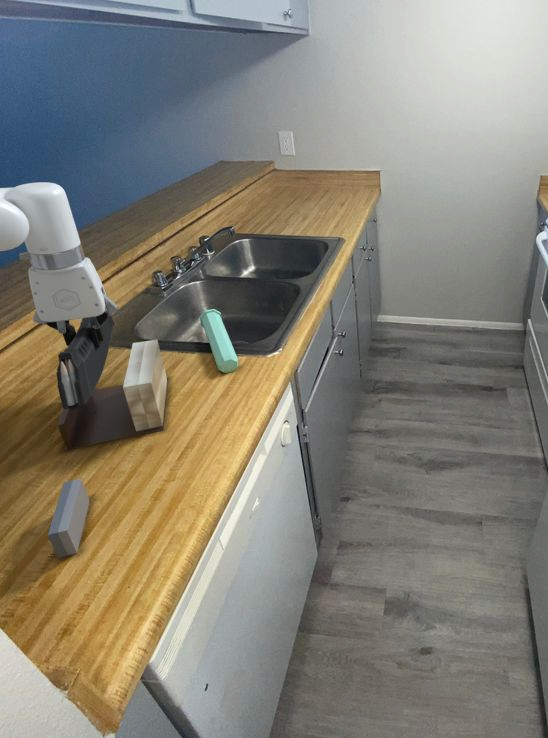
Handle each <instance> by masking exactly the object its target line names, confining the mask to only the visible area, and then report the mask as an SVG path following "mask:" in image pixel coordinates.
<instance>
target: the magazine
mask: <svg viewBox="0 0 548 738" xmlns="http://www.w3.org/2000/svg"><path fill="white" fill-rule="evenodd" d="M105 309H107V308H106V307H105ZM101 326H102V329H103V332H104V335H105V340H104V341H102V344H101V347H100V348H97V347H95V344H94V341H93V338H92V335H91V332H90V330H91V328H92V327H91V323H90V321H89V319H88V318H82V319H81V322H80V324H79V327H78V329H77V331H76V335H75V337H74V339H73V341H72V342H71V344H70V345H69V346H67V348H65V349H64V350H63V351H61V352H59V354H58V355H57V357H58V366H57V368H56V379H57V380H56V381H57V389H58V394H59V398H60V402H61V406H62V408H63V409H70V410H77V409H80V408H81V407H85V406H87V404H86V403H87V402H88V400H89V399H90V397H91V395H92V394H93V392H94V390H96V388H97V386H98V384H99V381H100V380H101V377H102V375H103V371H104V368H105V365H106V362H107V359H108V355H109V350H110V345H111V340H112V336H113V331H114V326H115V322H114V319H113V315H111V316H109V317H108V318H107V319H106V320H105V321H104V322H103V324H102V325H101Z"/></svg>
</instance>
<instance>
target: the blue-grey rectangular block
mask: <svg viewBox="0 0 548 738" xmlns="http://www.w3.org/2000/svg"><path fill="white" fill-rule="evenodd" d="M90 502H91V500H90V498H89V495H88V493H87V490H86V487H85V484H84V483H83V480H82V478H77V479H73V480H69V481H64V482H63V484H62V488H61V491H60V493H59V496H58V500H57V503H56V505H55V506H56V507H55V510H54V513H53V516H52V520H51V523H50V526H49V528H48V532H47V538H48V539H49V541H50V543H51V545H52V548H53V549H54V552H55V554H56V556H57V558H58V559H60V558H61V559H62V558H64V557H68V556H72V555H76V554H78V552H79V549H80V543H81V539H82V535H83V531H84V527H85V522H86V518H87V516H88V515H87V514H88V511H89V507H90Z"/></svg>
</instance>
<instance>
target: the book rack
mask: <svg viewBox="0 0 548 738" xmlns="http://www.w3.org/2000/svg"><path fill="white" fill-rule="evenodd" d="M130 349H131V350H130V354H129V357H128V358H129V359H128V362H127V367H126V372H125V376H124V381H123V385H115V386H111V387H105V388H104V387H103V388H100V389H95V390H94V392H93V394H92V395H91V397H90V399H89V400H88V402H87V403H86V404H87V406H85V407H81V408H80V409H77V410H70V409H64V408H63V409H62V411H61V414H60V417H59V419H58V422H57V428H58V430H59V433H60V435H61V438H62V440H63V443H64V445H65V446H64V449H63V451H65V452H66V451H72V450H75V449H80V448H86V447H90V446H96V445H101V444H105V443H109V442H115V441H119V440H125V439H128V438H134V437H139V436H143V435H148V434H153V433H158V432H162V431H165V423H166V414H167V413H166V412H167V402H168V401H167V400H168V390H169V379H170V378H169V377H168V376H167V373H166V369H165V365H164V360H163V357H162V353H161V348H160V345H159V341H158V339H151V340H146V341H138V342H132V345H131V348H130Z"/></svg>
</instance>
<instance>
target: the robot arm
mask: <svg viewBox="0 0 548 738" xmlns="http://www.w3.org/2000/svg"><path fill="white" fill-rule="evenodd" d="M22 244H25V245H24V246H25V247H26V250H27V251H25V252H20V253H19V259H20V261H21V262H29V263H30V265H31V266H30V267H29V268H28V271H27V272H28V281H29V287H30V291H31V296H32V300H33V303H34V307H35V312H34V314H33V317H32V321H33V322H34V323H36V324H41V325H47V327H50V328H52V329H54V330H56V331H58V333H59V334H61V335H62V337H63V339H64V342H65V345H66V346H67V347H68V346H69V345H70V344H71V342H72V341H73V339H74V337H75V335H76V333H77V331H76V327H75V326H73V325H72V324H70V321H73V320H74V321H75V320H80V319H81V320H82V319H83V318H88V319H89V321H90V323H91V327H92V328H91V330H90V332H91V335H92V338H93V341H94V344H95V347H97V348H100V347H101V344H102V341H104V340H105V335H104V332H103V329H102V326H101V325H102V324H103V322H104V321H105V320H106V319H107V318H108V317H109V316H113V315H114V314H116V313H117V312H118V310H119V307H120V306H119V305H117V304H116V303H115V302H114V301H113V300H112V299H111V298H110V297H109V296H108V295H107V293H106V290H105V287H104V285H103V282H102V280H101V277H100V276H99V272H98V271H97V269H96V267H95V266H94V264H93V262H92V260H91V259H90V258H89V257H86V256H85V251H84V249H83V246H82V243H81V238H80V236H79V232H78V229H77V225H76V222H75V220H74V216H73V213H72V209H71V206H70V202H69V199H68V197H67V193H66V191H65V189H64V188H63V187H62V186H61V185H59V184H57V183H54V182H47V181H45V182H44V181H42V182H41V181H40V182H29V183H23V184H20V185H17V186H14V187H0V252H4V251H10V250H14V249H16V248H17V247H19V246H21V245H22ZM105 307H106V308H107V309H105Z"/></svg>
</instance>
